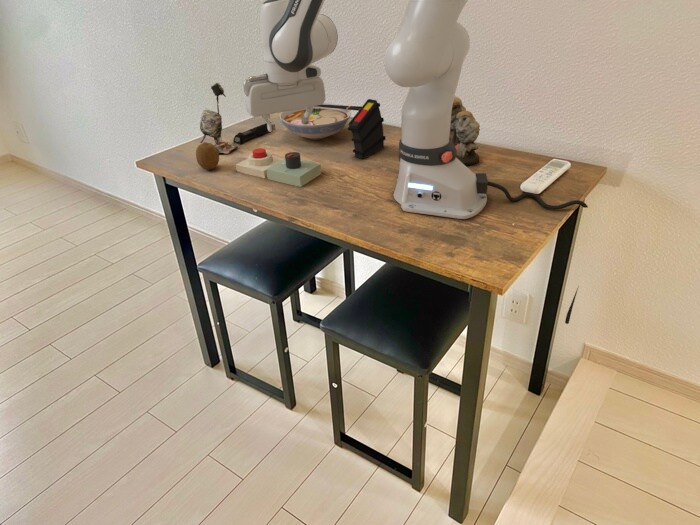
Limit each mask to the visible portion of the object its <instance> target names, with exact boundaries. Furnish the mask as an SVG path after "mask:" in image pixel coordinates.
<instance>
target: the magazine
mask: <svg viewBox="0 0 700 525" xmlns="http://www.w3.org/2000/svg"><path fill="white" fill-rule="evenodd" d="M361 106H362V107H361V109H360V110H359V111H357V112H356V113H355V115H354V116H353V117H352V119H351V120H350V121H349V122H348V127H347V130H348V131H350V132H351V135H352V138H351V139H350V140H351V142H353V147H354V149H352V153H353V154H354V157H355V158H358V159H361V160H364V159H367V157H369V156H371V155H373V154H375V153H377V152H378V151H380V150H383V149H384V147H385V143H384V142H385V141H386V137H387V136H386V135H384V126H383V122H384V121H385V118H384V117H382V114H381V110H380V107H381V103H380V102H378V100H377V99H371V98H368V99H366V101H365V102H364V103H363V105H361Z"/></svg>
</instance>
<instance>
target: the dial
mask: <svg viewBox="0 0 700 525" xmlns="http://www.w3.org/2000/svg"><path fill="white" fill-rule="evenodd" d="M284 159H285V161H286V167H287V168H289V169H296V168H299V167H301V160H302V158H301V153H300V152H297V151H296V152H295V151H289V152H286V153H285V155H284Z"/></svg>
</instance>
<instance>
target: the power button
mask: <svg viewBox="0 0 700 525" xmlns="http://www.w3.org/2000/svg"><path fill="white" fill-rule="evenodd" d="M266 151H267V150H266V148H263V147H260V148H255V149H253V150H252V153H253V157H254V158H264V157H266Z"/></svg>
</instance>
